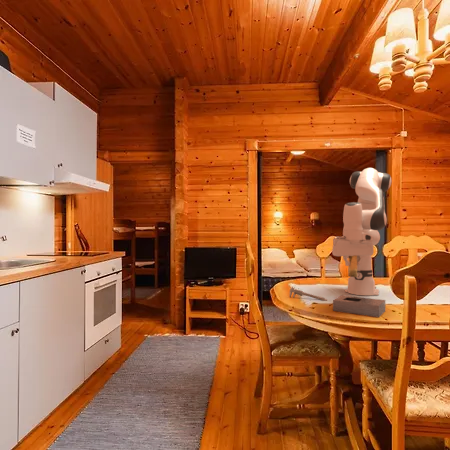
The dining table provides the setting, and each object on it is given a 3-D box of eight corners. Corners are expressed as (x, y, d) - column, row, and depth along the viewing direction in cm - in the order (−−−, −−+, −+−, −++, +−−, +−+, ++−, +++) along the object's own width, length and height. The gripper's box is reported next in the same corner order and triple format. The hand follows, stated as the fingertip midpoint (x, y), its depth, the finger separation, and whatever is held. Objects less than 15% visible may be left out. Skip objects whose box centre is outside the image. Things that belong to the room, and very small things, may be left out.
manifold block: (342, 305, 172) (342, 295, 172) (385, 311, 160) (385, 300, 160) (333, 310, 160) (333, 300, 160) (378, 317, 149) (379, 305, 149)
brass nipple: (350, 275, 165) (350, 254, 165) (358, 276, 162) (358, 255, 163) (346, 276, 163) (346, 255, 163) (354, 277, 160) (354, 255, 160)
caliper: (289, 297, 191) (289, 286, 191) (290, 297, 192) (290, 286, 192) (327, 301, 182) (327, 289, 183) (327, 300, 183) (327, 289, 184)
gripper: (337, 236, 157) (337, 266, 157) (375, 236, 162) (375, 265, 162) (329, 236, 163) (329, 265, 163) (367, 236, 168) (366, 264, 168)
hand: (352, 265), depth 163 cm, fingers closed on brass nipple, 4 cm apart
